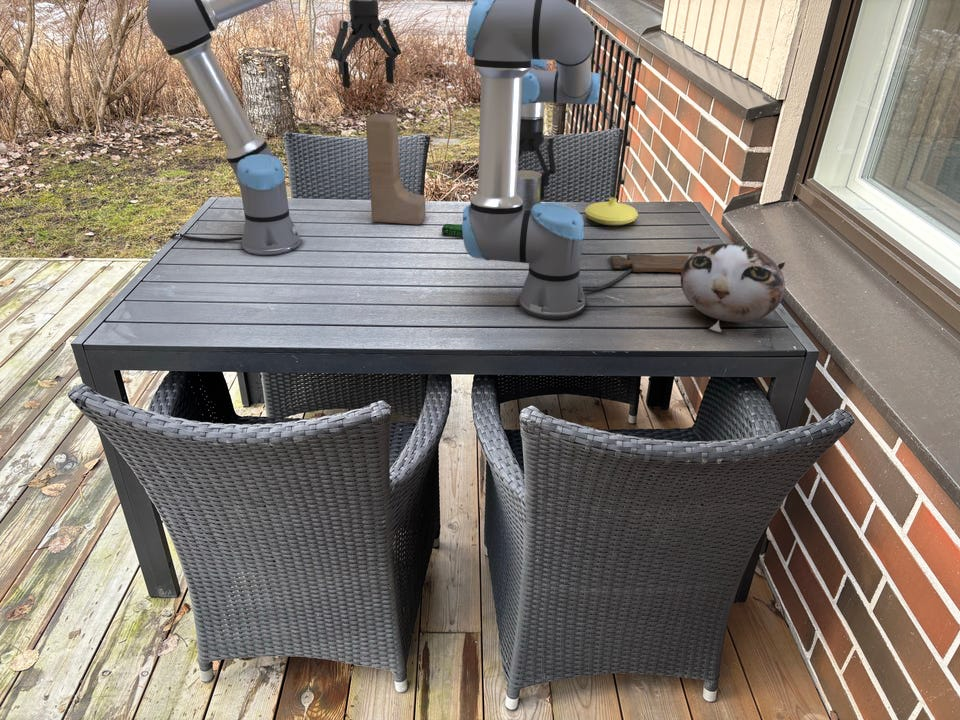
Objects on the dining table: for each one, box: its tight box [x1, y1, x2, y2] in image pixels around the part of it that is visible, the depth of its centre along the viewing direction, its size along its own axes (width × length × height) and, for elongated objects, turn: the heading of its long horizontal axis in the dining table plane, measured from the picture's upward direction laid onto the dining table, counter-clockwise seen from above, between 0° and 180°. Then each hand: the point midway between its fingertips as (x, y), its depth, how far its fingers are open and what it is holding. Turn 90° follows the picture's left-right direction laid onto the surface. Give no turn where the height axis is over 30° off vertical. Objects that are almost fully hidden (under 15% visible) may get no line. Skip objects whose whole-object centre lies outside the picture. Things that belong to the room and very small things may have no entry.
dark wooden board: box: [609, 253, 690, 274], centre depth 188 cm, size 26×2×10 cm
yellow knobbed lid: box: [584, 197, 639, 227], centre depth 215 cm, size 16×16×7 cm
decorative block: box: [365, 113, 426, 226], centre depth 208 cm, size 8×15×30 cm, turn 82°
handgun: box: [441, 223, 463, 238], centre depth 207 cm, size 16×3×15 cm
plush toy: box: [680, 243, 786, 333], centre depth 158 cm, size 22×18×20 cm
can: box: [517, 169, 543, 211], centre depth 205 cm, size 8×8×10 cm
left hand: (368, 85), depth 198 cm, fingers open, 13 cm apart
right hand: (526, 197), depth 206 cm, fingers closed on can, 8 cm apart
